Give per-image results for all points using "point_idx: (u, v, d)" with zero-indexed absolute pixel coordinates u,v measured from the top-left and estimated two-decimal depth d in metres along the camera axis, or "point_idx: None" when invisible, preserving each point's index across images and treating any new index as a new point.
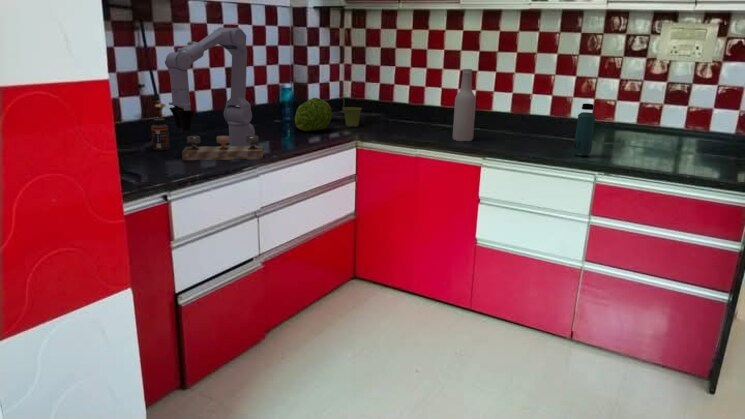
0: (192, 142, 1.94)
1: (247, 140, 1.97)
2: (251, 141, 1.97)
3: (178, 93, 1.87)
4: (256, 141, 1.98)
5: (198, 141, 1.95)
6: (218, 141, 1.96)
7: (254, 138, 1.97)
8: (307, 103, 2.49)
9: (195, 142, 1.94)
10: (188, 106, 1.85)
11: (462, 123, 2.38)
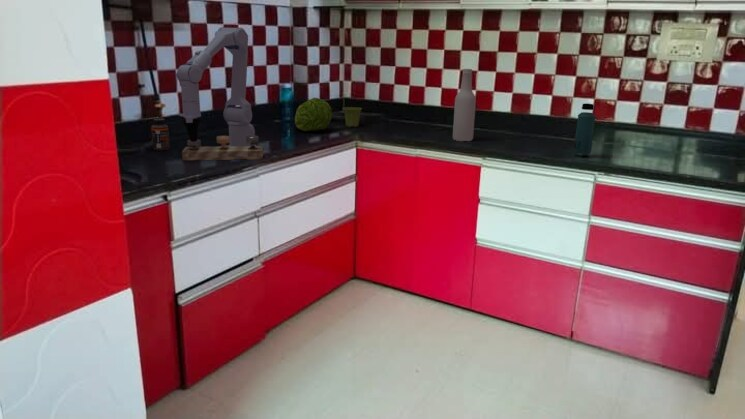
0: (192, 146, 1.94)
1: (247, 140, 1.97)
2: (251, 141, 1.97)
3: (186, 105, 1.90)
4: (256, 141, 1.98)
5: (198, 145, 1.95)
6: (218, 141, 1.96)
7: (254, 138, 1.97)
8: (307, 103, 2.49)
9: (195, 146, 1.94)
10: (190, 118, 1.86)
11: (462, 123, 2.38)
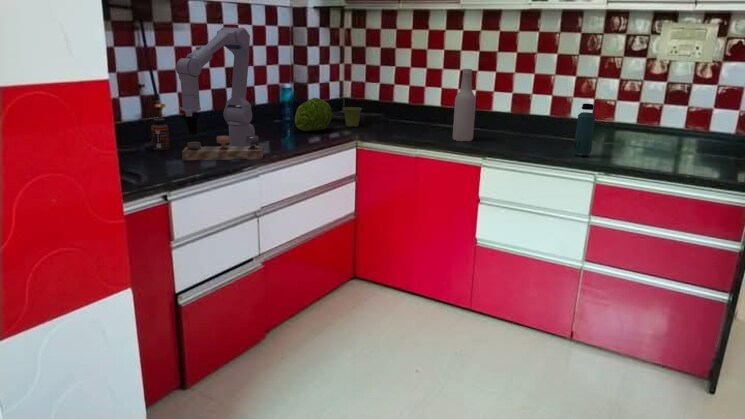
0: (192, 148, 1.94)
1: (247, 140, 1.97)
2: (251, 141, 1.97)
3: (185, 98, 1.89)
4: (256, 141, 1.98)
5: (198, 147, 1.95)
6: (218, 141, 1.96)
7: (254, 138, 1.97)
8: (307, 103, 2.49)
9: (195, 148, 1.95)
10: (189, 112, 1.86)
11: (462, 123, 2.38)
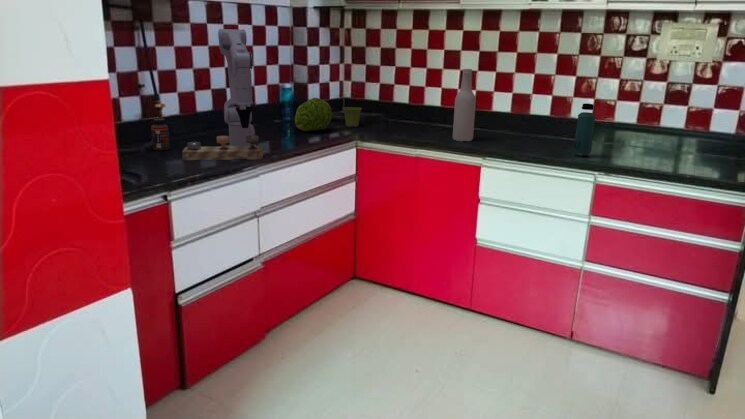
0: (192, 148, 1.94)
1: (247, 140, 1.97)
2: (251, 141, 1.97)
3: (239, 92, 1.91)
4: (256, 141, 1.98)
5: (198, 147, 1.95)
6: (218, 141, 1.96)
7: (254, 138, 1.97)
8: (307, 103, 2.49)
9: (195, 148, 1.95)
10: (243, 105, 1.88)
11: (462, 123, 2.38)
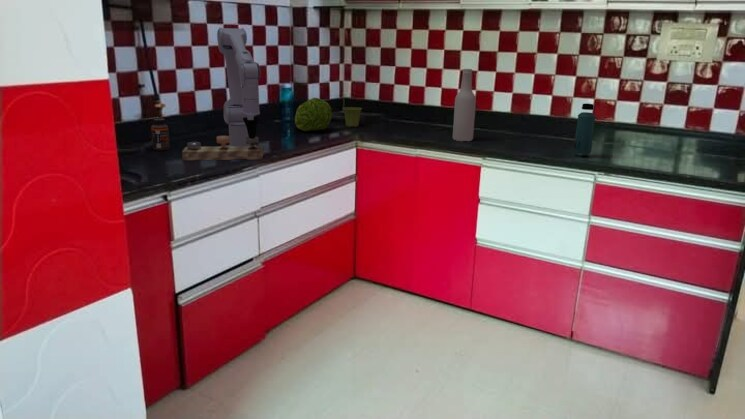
0: (192, 148, 1.94)
1: (247, 141, 1.97)
2: (251, 142, 1.97)
3: (246, 103, 1.93)
4: (256, 142, 1.98)
5: (198, 147, 1.95)
6: (218, 141, 1.96)
7: (254, 139, 1.97)
8: (307, 103, 2.49)
9: (195, 148, 1.95)
10: (251, 116, 1.89)
11: (462, 123, 2.38)
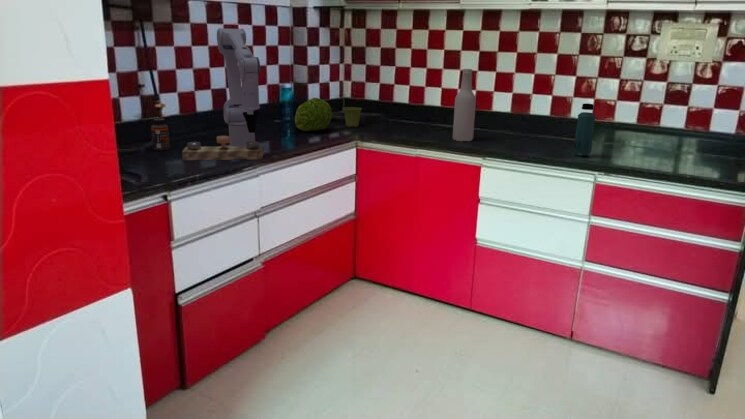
0: (192, 148, 1.94)
1: (247, 146, 1.98)
2: (251, 147, 1.98)
3: (246, 97, 1.92)
4: (256, 147, 1.98)
5: (198, 147, 1.95)
6: (218, 141, 1.96)
7: (254, 144, 1.98)
8: (307, 103, 2.49)
9: (195, 148, 1.95)
10: (251, 110, 1.89)
11: (462, 123, 2.38)
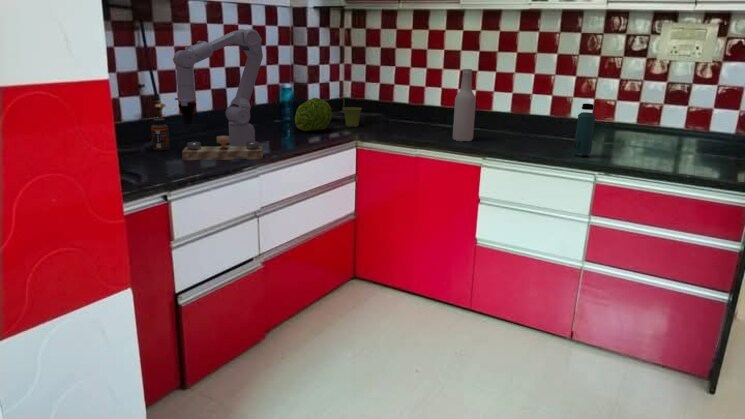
0: (192, 148, 1.94)
1: (247, 146, 1.98)
2: (251, 147, 1.98)
3: (181, 89, 1.97)
4: (256, 147, 1.98)
5: (198, 147, 1.95)
6: (218, 141, 1.96)
7: (254, 144, 1.98)
8: (307, 103, 2.49)
9: (195, 148, 1.95)
10: (185, 102, 1.94)
11: (462, 123, 2.38)
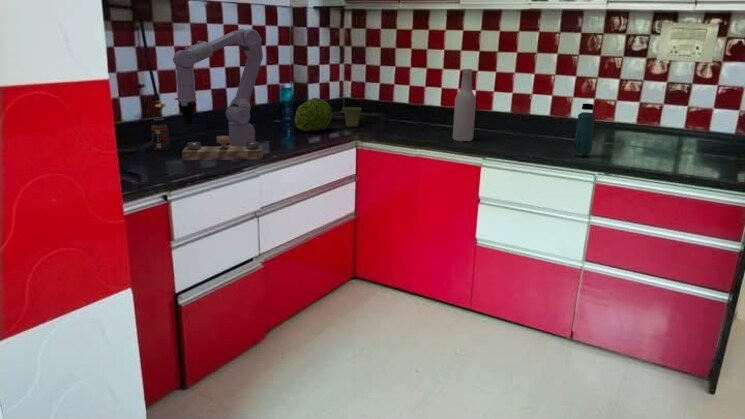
0: (192, 148, 1.94)
1: (247, 146, 1.98)
2: (251, 147, 1.98)
3: (181, 89, 1.97)
4: (256, 147, 1.98)
5: (198, 147, 1.95)
6: (218, 141, 1.96)
7: (254, 144, 1.98)
8: (307, 103, 2.49)
9: (195, 148, 1.95)
10: (185, 102, 1.94)
11: (462, 123, 2.38)
